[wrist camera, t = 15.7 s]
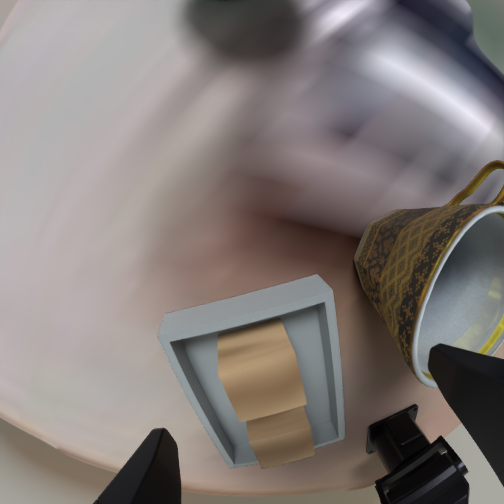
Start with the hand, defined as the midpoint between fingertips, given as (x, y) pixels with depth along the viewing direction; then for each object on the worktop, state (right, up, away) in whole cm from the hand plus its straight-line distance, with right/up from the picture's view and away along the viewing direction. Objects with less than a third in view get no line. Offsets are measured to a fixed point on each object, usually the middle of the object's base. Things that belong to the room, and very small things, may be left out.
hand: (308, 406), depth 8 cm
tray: (-1, -6, +14) cm, 15 cm away
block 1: (-1, -3, +12) cm, 13 cm away
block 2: (0, -9, +14) cm, 17 cm away
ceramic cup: (+9, +6, +12) cm, 16 cm away
